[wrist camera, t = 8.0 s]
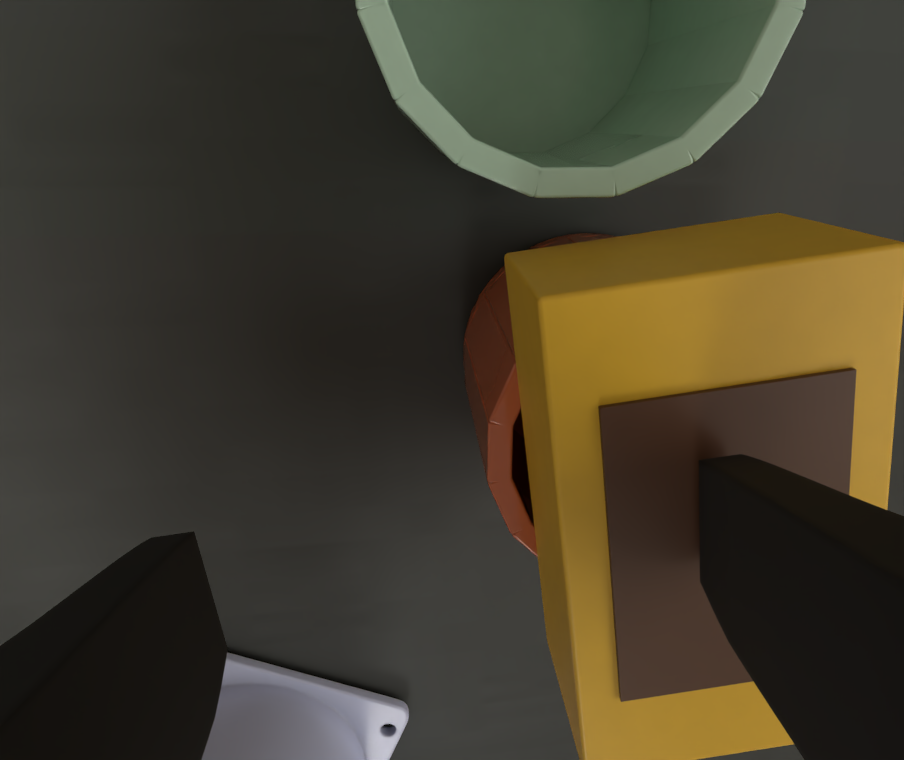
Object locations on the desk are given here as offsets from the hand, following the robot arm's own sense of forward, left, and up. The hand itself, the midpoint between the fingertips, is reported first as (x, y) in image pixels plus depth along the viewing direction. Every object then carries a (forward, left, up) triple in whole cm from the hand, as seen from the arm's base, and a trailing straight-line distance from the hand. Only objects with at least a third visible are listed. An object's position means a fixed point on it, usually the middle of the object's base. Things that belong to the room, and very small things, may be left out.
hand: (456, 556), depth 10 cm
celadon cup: (+8, +1, -10) cm, 13 cm away
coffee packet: (+1, -4, -4) cm, 6 cm away
